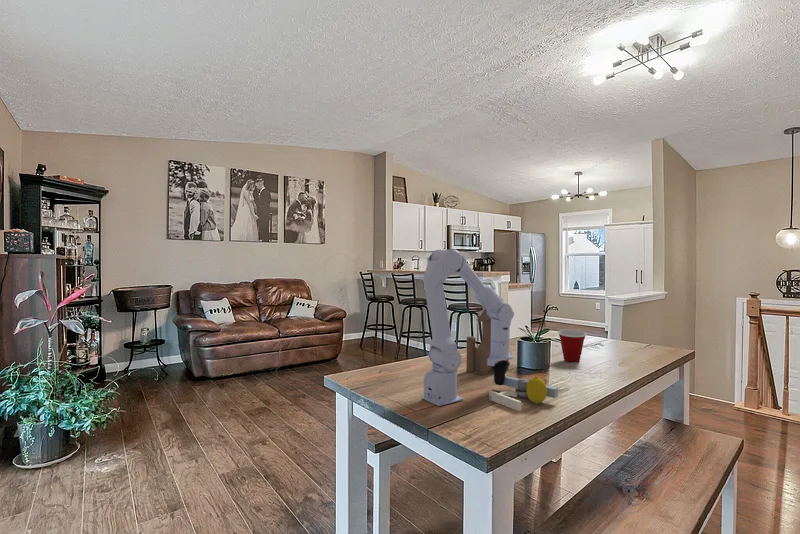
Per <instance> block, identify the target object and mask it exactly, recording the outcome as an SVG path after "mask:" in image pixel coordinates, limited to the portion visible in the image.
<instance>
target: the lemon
mask: <svg viewBox="0 0 800 534" xmlns="http://www.w3.org/2000/svg"><path fill="white" fill-rule="evenodd" d="M528 380H529V381H528V384H527V389H526V390H527V395H528V397H529V399H528V400H530V401H532V402H533V403H534V404H535V405H538V404H539V403H542V402H544V400H546V398H547V396H546V395H547V387H546V385H547V384H546V381H544V380H543V379H542V378H540V377H539V376H538V375H537V376H534V377H532V378H530V379H528Z"/></svg>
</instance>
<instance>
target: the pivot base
mask: <svg viewBox="0 0 800 534" xmlns="http://www.w3.org/2000/svg"><path fill="white" fill-rule="evenodd" d="M514 389H515V391H514V392H517V397H516V398H519V399H524V400H525V399H526V400H527V399H528V400H530V399H529V397H528V395H527V391H521V390H518V389H516V388H514Z"/></svg>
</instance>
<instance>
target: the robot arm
mask: <svg viewBox="0 0 800 534" xmlns="http://www.w3.org/2000/svg"><path fill="white" fill-rule="evenodd" d="M426 260H427V261H426V262H427V264H426V267H425V271H424V273H423V274H424V275H423V278H422V279H423V280H422V281H423V286H424V293H425V298H426V306H427V311H428V316H429V323H430V329H431V336H432V337H431V340H430V341H429V351H428V358H429V361H430V362H431V363H432V369H431V370H430V371H427V372H426V373H425V374H424V377H423V396H422V397H421V399H422V400H425V401H427V402H428V403H431V404H433V405H435V406H437V407H441V406H445V405H449V404H452V403H456V402H460V401H464V398H463V397H462V396H460V395H458V369H459V367H461V364H462V361H463V360H462V355H461V353H460V351H459V350H458V346H457V344H456V343H457V342H455V340H454V338H453V336H452V333H451V327H450V321H449V315H448V314H449V313H448V308H447V302H446V295H445V290H444V283H445V281H446V280H447V279H448V278H449V276H451V275H454V274H455V275H458V276H459V277H460V278H461V279H462V280H463V281H464V282H465V283H466V284H467V285H468V286H469V288H471V289H472V290H473V291H474V298H475V300H477V301H478V302H479V303H480V305H481V306H482V308H484V310H485V309H486V310H487V315H488V317H490V318H491V354H490V356H489V358H488V359H487V365H488V366H491V367H492V368H491V367H490V368H491V369H492V372H493V379H494V378H495V383H494V384H495V385H497V386H504V385H503V384H504V380H505V374H507V371H508V370H507V368H508V366H509V367H510V365H511V363H510V361H509V362H508V361H505V360H507V359H509V360H513V359H514V356H513V355H512V351H510V331H511V329H510V328H511V324H512V320H513V318H514V316H515V311H514V310H513V308H512V306H511V304H508V303H506V302H504V299H503V297H500V295H499V294H498V293H497V292H496V291H495V290H496V288H495V287H494V286H492V285H490V284H484V283H483V281H482V280H481V279H480V278H479V276H478V275H477V274H476V272H475V271H474V270H473V268H472V267H471V266H470V265H469V263H468V261H467V258H466V257H465V256H463V255H462V253H461V252H460V251H459V250H457V249H455V248H451V249H435V250H433V252H431V254H430V255H429V256H428V257H427V258H426Z"/></svg>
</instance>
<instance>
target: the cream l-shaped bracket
mask: <svg viewBox="0 0 800 534" xmlns="http://www.w3.org/2000/svg"><path fill="white" fill-rule="evenodd" d="M510 396H511V397H510ZM513 397H514V398H513ZM516 398H518V397H517V392H515V391H513V390H511V389H509V390H505V391H501V392H496V391H495V390H494V391H493V390H488V400H489V401H491V402H495V403H496V404H500V405H501V406H504V405H505V406H504V407H507V408H509V409H512V410H515V411H516V412H521V411H522V401H521V400H519V399H516Z"/></svg>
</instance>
